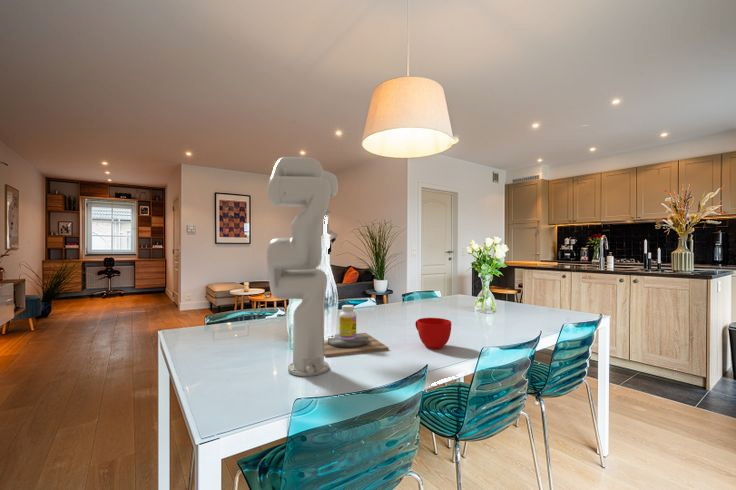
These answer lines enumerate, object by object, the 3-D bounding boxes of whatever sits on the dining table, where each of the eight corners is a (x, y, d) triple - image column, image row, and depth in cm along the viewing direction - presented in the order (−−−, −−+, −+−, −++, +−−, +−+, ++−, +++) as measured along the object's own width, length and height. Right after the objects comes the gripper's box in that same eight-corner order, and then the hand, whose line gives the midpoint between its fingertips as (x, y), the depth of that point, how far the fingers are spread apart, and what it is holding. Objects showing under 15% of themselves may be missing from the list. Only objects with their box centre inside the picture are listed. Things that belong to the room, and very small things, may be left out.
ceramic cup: (427, 338, 147) (427, 314, 147) (458, 348, 133) (458, 322, 133) (403, 343, 140) (404, 318, 140) (433, 354, 126) (433, 326, 126)
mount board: (388, 350, 130) (388, 343, 130) (325, 357, 121) (325, 350, 121) (365, 335, 152) (365, 329, 152) (311, 340, 144) (311, 334, 144)
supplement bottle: (354, 341, 133) (354, 307, 133) (337, 340, 134) (337, 306, 134) (358, 336, 139) (358, 304, 139) (342, 335, 141) (342, 304, 141)
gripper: (335, 213, 148) (335, 254, 148) (294, 212, 142) (293, 254, 142) (339, 212, 141) (339, 254, 141) (296, 210, 135) (296, 254, 135)
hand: (316, 254), depth 141 cm, fingers open, 9 cm apart
